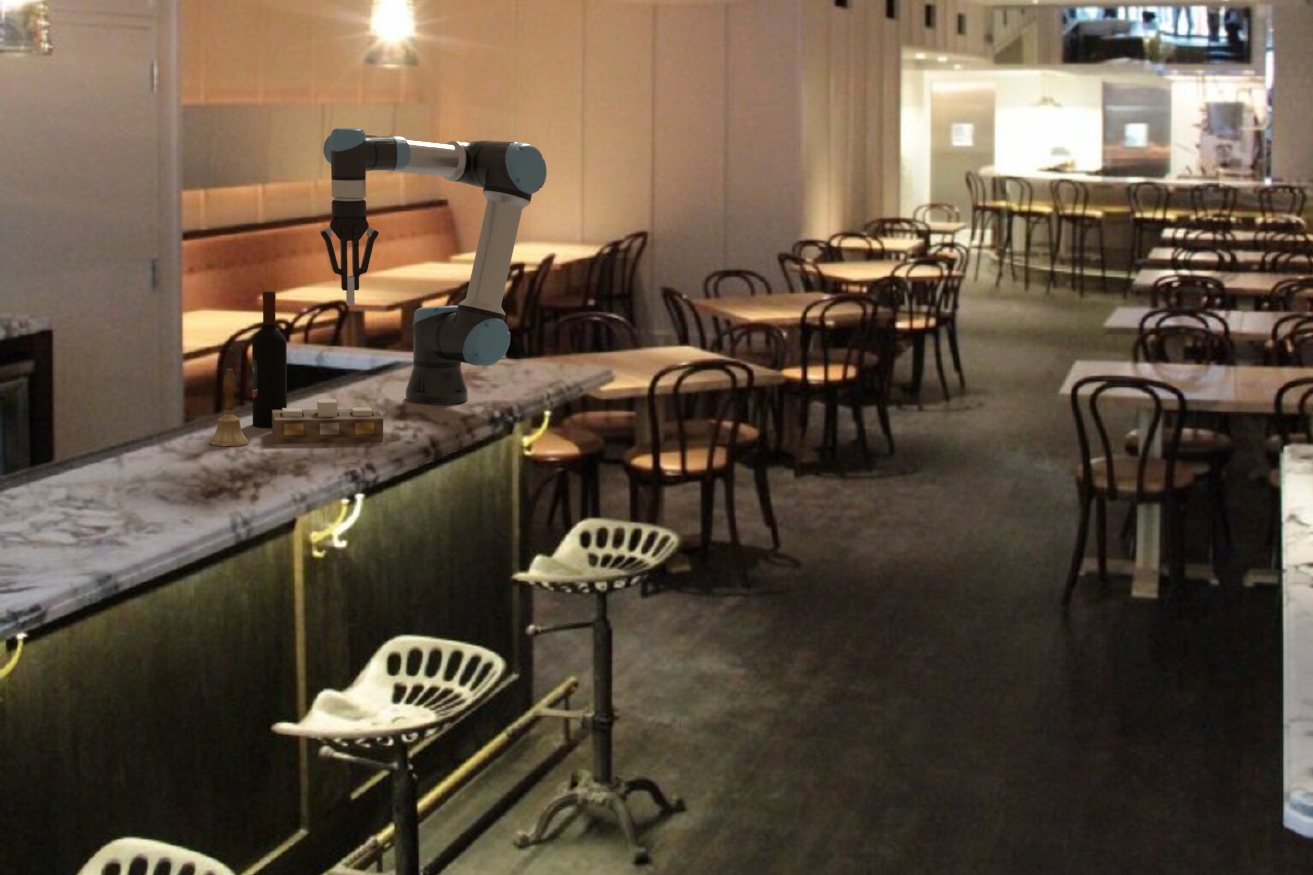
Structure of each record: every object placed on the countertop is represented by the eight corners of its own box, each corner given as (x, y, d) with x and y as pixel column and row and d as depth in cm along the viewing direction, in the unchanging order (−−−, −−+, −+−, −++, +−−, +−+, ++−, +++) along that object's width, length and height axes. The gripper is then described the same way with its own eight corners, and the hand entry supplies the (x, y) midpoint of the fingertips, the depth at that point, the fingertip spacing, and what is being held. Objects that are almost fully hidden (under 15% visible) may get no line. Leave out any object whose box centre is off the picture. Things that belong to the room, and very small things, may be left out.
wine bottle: (270, 429, 400) (269, 294, 394) (245, 425, 404) (244, 291, 398) (294, 424, 406) (293, 292, 400) (269, 420, 410) (268, 289, 404)
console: (377, 430, 403) (377, 408, 402) (383, 441, 391) (383, 419, 390) (272, 432, 397) (272, 409, 396) (274, 443, 385) (274, 420, 384)
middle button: (335, 421, 396) (335, 399, 395) (337, 425, 392) (337, 402, 391) (317, 421, 395) (317, 399, 394) (318, 425, 391) (318, 402, 390)
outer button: (301, 430, 395) (300, 407, 394) (302, 434, 391) (302, 411, 390) (282, 430, 394) (282, 408, 393) (283, 434, 390) (283, 411, 389)
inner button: (370, 429, 398) (370, 407, 397) (372, 433, 395) (372, 410, 394) (351, 429, 397) (351, 407, 396) (353, 433, 394) (353, 410, 393)
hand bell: (230, 437, 390) (229, 364, 387) (257, 443, 385) (256, 369, 382) (200, 443, 383) (199, 368, 380) (227, 448, 379) (226, 373, 375)
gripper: (376, 197, 404) (377, 302, 409) (317, 197, 400) (319, 303, 405) (380, 200, 397) (382, 306, 402) (320, 200, 393) (322, 308, 398)
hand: (350, 305), depth 404 cm, fingers closed
